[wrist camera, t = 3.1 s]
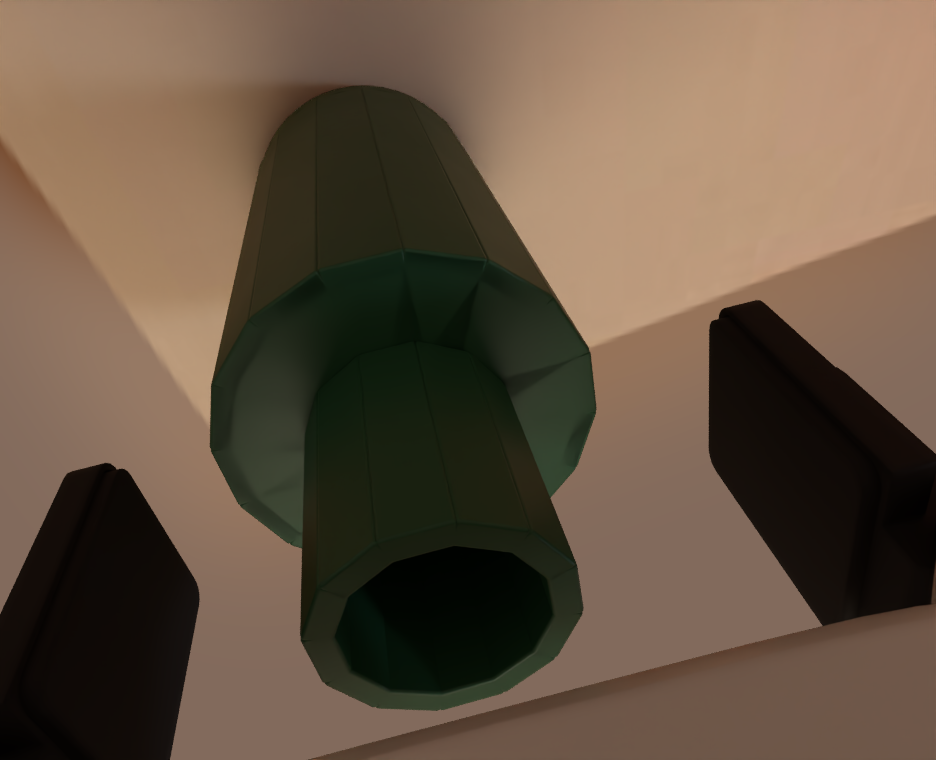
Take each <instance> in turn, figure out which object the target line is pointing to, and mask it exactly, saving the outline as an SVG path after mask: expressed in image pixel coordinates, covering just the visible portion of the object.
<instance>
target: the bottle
mask: <svg viewBox="0 0 936 760" xmlns="http://www.w3.org/2000/svg"><path fill="white" fill-rule="evenodd" d="M595 414H596V401H595V390H594V382H593V372H592V363H591V354H590V351H589V348H588V346H587V344H586V343H585V341H584V340H583V338H582V336H581V335H580V333H579V332H578V330H577V328H576V327H575V325H574V324H573V322H572V320H571V319H570V317H569V316H568V314H567V312H566V311H565V309H564V308H563V306H562V304H561V303H560V301H559V300H558V298H557V296H556V295H555V293H554V292H553V290H552V288H551V287H550V285H549V284H548V282H547V280H546V279H545V277H544V276H543V274H542V272H541V271H540V269H539V268H538V266H537V264H536V263H535V261H534V260H533V258H532V256H531V255H530V253H529V252H528V250H527V248H526V247H525V245H524V244H523V242H522V240H521V239H520V237H519V236H518V234H517V232H516V231H515V229H514V228H513V226H512V224H511V223H510V221H509V220H508V218H507V216H506V215H505V213H504V212H503V210H502V208H501V207H500V205H499V204H498V202H497V200H496V199H495V197H494V196H493V194H492V192H491V191H490V189H489V187H488V186H487V184H486V183H485V181H484V179H483V178H482V176H481V175H480V173H479V171H478V170H477V168H476V167H475V165H474V163H473V162H472V160H471V159H470V157H469V155H468V154H467V152H466V151H465V149H464V148H463V146H462V145H461V143H460V142H459V140H458V139H457V137H456V136H455V134H454V133H453V131H452V130H451V128H450V127H449V125H448V124H447V122H445V121H444V119H442V118H441V117H440V116H439V115H438V114H437V113H436V112H434V111H433V110H432V109H430V108H429V107H428V106H426V105H425V104H424V103H422V102H420V101H418V100H417V99H415V98H413V97H411V96H409V95H406V94H404V93H401V92H399V91H396V90H392V89H388V88H384V87H376V86H351V87H345V88H339V89H335V90H332V91H329V92H326V93H323V94H321V95H319V96H317V97H315V98H313V99H311V100H309V101H308V102H306V103H305V104H303V105H302V106H300V107H299V108H298V109H296V110H295V111H294V112H293V113H292V114H291V115H290V116H289V117H288V118H287V119H286V120H285V121H284V122H283V124H282V125H281V126H280V127H279V128H278V130H277V131H276V133H275V135H274V136H273V138H272V140H271V141H270V144H269V146H268V148H267V151H266V153H265V156H264V158H263V160H262V162H261V164H260V167H259V171H258V176H257V181H256V185H255V190H254V194H253V199H252V203H251V208H250V212H249V217H248V221H247V226H246V230H245V235H244V239H243V244H242V248H241V253H240V258H239V262H238V267H237V271H236V276H235V280H234V285H233V289H232V294H231V298H230V303H229V307H228V312H227V316H226V321H225V325H224V330H223V335H222V339H221V344H220V348H219V353H218V357H217V362H216V366H215V371H214V375H213V380H212V384H211V418H210V448H211V452H212V454H213V456H214V458H215V460H216V462H217V464H218V466H219V468H220V470H221V471H222V473H223V475H224V477H225V479H226V481H227V483H228V485H229V487H230V489H231V491H232V493H233V495H234V497H235V498H236V500H237V502H238V504H239V505H240V506H241V507H242V508H243V509H244V510H246V511H247V512H248V513H249V514H251V515H252V516H253V517H254V518H256V519H257V520H258V521H260V522H261V523H262V524H264V525H265V526H266V527H268V528H269V529H270V530H272V531H273V532H274V533H275V534H277V535H278V536H279V537H280V538H282V539H283V540H284V541H286V542H287V543H290V544H291V545H293V546H296V547H299V548H302V579H301V580H302V581H301V626H300V636H301V642H302V644H303V646H304V648H305V649H306V651H307V653H308V655H309V657H310V659H311V661H312V662H313V664H314V667H315V668H316V670H317V672H318V674H319V676H320V678H321V680H322V681H323V682H324V683H325V684H326V685H327V686H329V687H332V688H333V689H336V690H338V691H340V692H342V693H344V694H346V695H348V696H350V697H352V698H355V699H357V700H359V701H361V702H363V703H365V704H367V705H369V706H371V707H376V708H381V709H406V710H408V709H409V710H432V711H437V710H440V709H441V710H445V709H448V708H452V707H455V706H459V705H463V704H466V703H470V702H474V701H477V700H481V699H484V698H488V697H491V696H495V695H499V694H502V693H503V692H505V691H508V690H510V689H511V688H513V687H514V686H515V685H517V684H518V683H520V682H521V681H523V680H524V679H526V678H527V677H529V676H530V675H532V674H533V673H535V672H536V671H538V670H539V669H541V668H542V667H544V666H545V665H546V664H548V663H550V662H551V661H552V660H554V658H555V657H556V656H558V654H559V653H560V651H561V649H562V648H563V646H564V644H565V642H566V641H567V639H568V637H569V636H570V634H571V632H572V631H573V629H574V627H575V626H576V624H577V622H578V620H579V619H580V617H581V615H582V611H583V602H582V595H581V588H580V583H579V575H578V568H577V564H576V561H575V559H574V557H573V554H572V551H571V549H570V546H569V544H568V541H567V539H566V536H565V534H564V531H563V529H562V526H561V524H560V521H559V519H558V516H557V514H556V511H555V509H554V506H553V504H552V501H551V499H550V498H551V496H552V495H553V494H554V493H555V492H556V490H557V489H558V488H559V487H560V486H561V485H562V484H563V483H564V481H565V480H566V479H567V478H568V477H569V476H570V474H572V472H573V471H574V470H575V467H576V466H577V465H578V462H579V459H580V456H581V454H582V451H583V448H584V445H585V442H586V440H587V437H588V434H589V431H590V428H591V426H592V423H593V420H594V417H595Z"/></svg>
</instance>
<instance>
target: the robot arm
mask: <svg viewBox="0 0 936 760" xmlns="http://www.w3.org/2000/svg"><path fill="white" fill-rule="evenodd" d="M709 454H710V458H711V461H712V464H713V466H714V468H715V470H716V472H717V473H718V474H719V476H720V477H721V479H722V480H723V482H724V483H725V485H726V486H727V488H728V489H729V490H730V492H731V493H732V495H733V496H734V498H735V499H736V501H737V502H738V504H739V505H740V506H741V508H742V509H743V511H744V512H745V514H746V515H747V517H748V518H749V520H750V521H751V522H752V524H753V525H754V527H755V528H756V530H757V531H758V533H759V534H760V536H761V537H762V538H763V540H764V541H765V543H766V544H767V546H768V547H769V549H770V550H771V551H772V553H773V554H774V556H775V557H776V559H777V560H778V561H779V563H780V564H781V566H782V567H783V569H784V570H785V572H786V573H787V574H788V576H789V577H790V579H791V580H792V582H793V583H794V585H795V586H796V588H797V589H798V591H799V592H800V594H801V595H802V596H803V598H804V599H805V601H806V602H807V604H808V605H809V606H810V608H811V609H812V611H813V612H814V613H815V615H816V616H817V618H818V620H819V621H820V623H821V624H822V625H823V626H821V627H818V628H813V629H809V630H805V631H801V632H797V633H792V634H788V635H784V636H780V637H775V638H772V639H767V640H763V641H759V642H755V643H751V644H747V645H743V646H739V647H735V648H731V649H727V650H723V651H719V652H716V653H712V654H708V655H704V656H700V657H696V658H692V659H689V660H685V661H681V662H677V663H673V664H669V665H666V666H662V667H658V668H654V669H650V670H646V671H642V672H638V673H635V674H631V675H627V676H623V677H619V678H615V679H612V680H607V681H603V682H600V683H596V684H592V685H588V686H584V687H580V688H576V689H573V690H569V691H565V692H561V693H557V694H554V695H550V696H546V697H542V698H539V699H535V700H531V701H527V702H523V703H519V704H516V705H512V706H508V707H504V708H501V709H497V710H493V711H489V712H486V713H481V714H478V715H474V716H470V717H466V718H463V719H459V720H455V721H451V722H447V723H444V724H440V725H436V726H432V727H429V728H425V729H421V730H417V731H414V732H410V733H406V734H402V735H398V736H395V737H391V738H387V739H384V740H380V741H376V742H372V743H368V744H364V745H361V746H357V747H354V748H350V749H346V750H342V751H339V752H335V753H331V754H327V755H324V756H320V757H316V758H313V759H309V760H936V454H935V453H934V452H933V451H932V450H931V449H930V448H928V447H927V446H926V445H925V444H924V443H923V442H922V441H921V440H920V439H919V438H917V437H916V436H915V435H914V434H913V433H912V432H911V431H910V430H908V429H907V428H906V427H905V426H904V425H903V424H902V423H901V422H899V421H898V420H897V419H896V418H895V417H894V416H893V415H892V414H891V413H889V412H888V411H887V410H886V409H885V408H884V407H883V406H882V405H881V404H879V403H878V402H877V401H876V400H875V399H874V398H873V397H872V396H871V395H869V394H868V393H867V392H866V391H865V390H864V389H863V388H862V387H860V386H859V385H858V384H857V383H856V382H855V381H854V380H853V379H851V378H850V377H849V376H848V375H847V374H846V373H845V372H843V371H842V370H840V369H839V368H837V367H835V366H833V365H832V364H831V363H830V362H829V361H828V360H826V358H825V357H824V356H822V355H821V354H820V353H819V352H818V351H817V350H816V349H815V348H813V347H812V346H811V345H810V344H809V343H808V342H807V341H806V340H805V339H803V338H802V337H801V336H800V335H799V334H798V333H797V332H796V331H795V330H794V329H792V328H791V327H790V326H789V325H788V324H787V323H786V322H784V320H783V319H781V318H780V317H779V316H778V315H777V314H776V313H775V312H774V311H773V310H771V309H770V308H769V307H768V306H767V305H766V304H765V303H763V302H762V301H760V300H755V301H752V302H747V303H744V304H739V305H735V306H732V307H727V308H724V309H722V310H721V312H720V314H719V319H717V320H714V321H712V322H711V324H710V329H709ZM198 607H199V590H198V586H197V583H196V581H195V579H194V577H193V576H192V574H191V572H190V571H189V569H188V567H187V566H186V564H185V562H184V561H183V559H182V558H181V556H180V554H179V553H178V551H177V549H176V548H175V546H174V545H173V543H172V542H171V540H170V539H169V537H168V535H167V534H166V532H165V530H164V528H163V527H162V525H161V524H160V522H159V521H158V519H157V517H156V515H155V514H154V512H153V511H152V509H151V507H150V506H149V504H148V503H147V501H146V499H145V498H144V496H143V494H142V493H141V491H140V489H139V488H138V486H137V485H136V483H135V481H134V480H133V478H132V476H131V475H130V474H129V473H128V471H126V470H125V469H118V470H117V469H116V468H115V467H114V466H113V465H111V464H109V463H104V464H100V465H96V466H92V467H88V468H84V469H80V470H76V471H72V472H70V473H68V474H67V475H66V476H65V478H64V479H63V481H62V483H61V486H60V488H59V490H58V492H57V494H56V496H55V498H54V500H53V503H52V505H51V507H50V509H49V511H48V513H47V516H46V518H45V520H44V522H43V524H42V526H41V528H40V530H39V533H38V535H37V537H36V539H35V541H34V543H33V545H32V547H31V550H30V552H29V554H28V556H27V558H26V560H25V563H24V565H23V567H22V569H21V571H20V573H19V576H18V578H17V580H16V582H15V584H14V586H13V589H12V590H11V592H10V594H9V597H8V599H7V601H6V603H5V605H4V607H3V610H2V612H1V614H0V760H170V756H171V750H172V745H173V740H174V734H175V730H176V724H177V719H178V714H179V708H180V702H181V698H182V692H183V687H184V682H185V676H186V671H187V666H188V660H189V655H190V650H191V644H192V639H193V633H194V629H195V623H196V618H197V612H198Z"/></svg>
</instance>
